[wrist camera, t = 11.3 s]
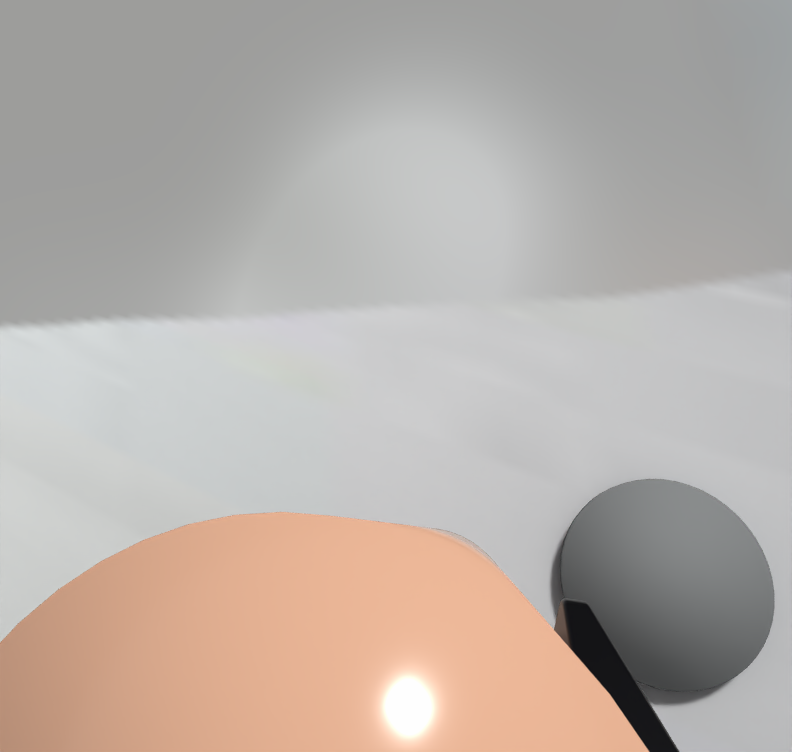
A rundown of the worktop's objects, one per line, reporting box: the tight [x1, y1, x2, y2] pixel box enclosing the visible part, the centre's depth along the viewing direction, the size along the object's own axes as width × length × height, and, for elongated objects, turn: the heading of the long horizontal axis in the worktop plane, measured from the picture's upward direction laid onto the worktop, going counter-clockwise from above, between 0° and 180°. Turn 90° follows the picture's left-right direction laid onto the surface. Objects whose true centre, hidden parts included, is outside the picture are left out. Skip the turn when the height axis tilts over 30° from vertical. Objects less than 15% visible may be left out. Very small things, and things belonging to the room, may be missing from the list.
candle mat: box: [560, 479, 774, 691], centre depth 21 cm, size 8×8×1 cm
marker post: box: [0, 512, 649, 752], centre depth 9 cm, size 5×5×13 cm
